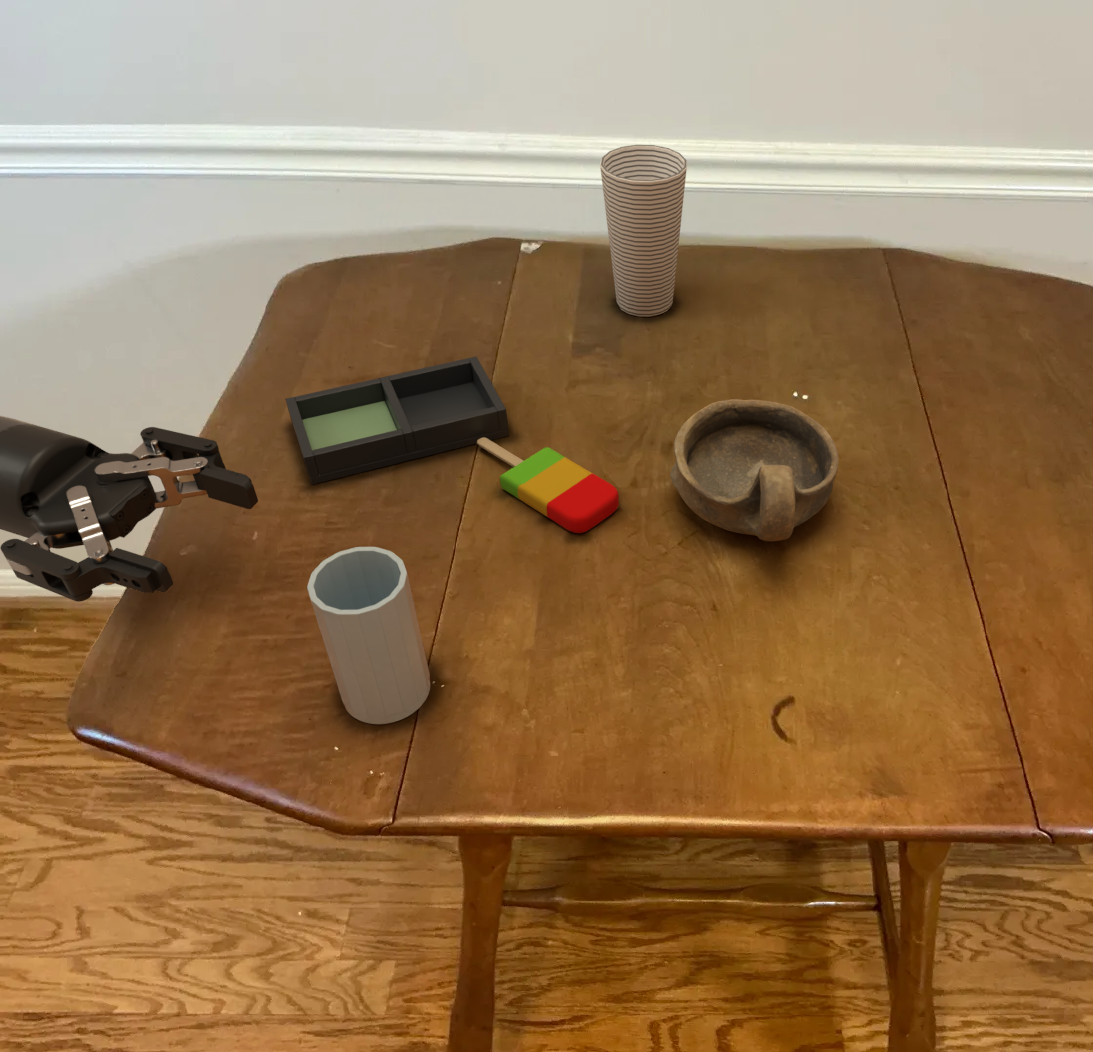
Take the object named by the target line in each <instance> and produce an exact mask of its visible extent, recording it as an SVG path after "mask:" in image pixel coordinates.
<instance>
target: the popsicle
mask: <svg viewBox="0 0 1093 1052" xmlns="http://www.w3.org/2000/svg"><path fill="white" fill-rule="evenodd" d="M476 445H477V446H478V447H480V448H482V449H484V450H485V451H487V452H488V453H490V454H492V455H493V456H495V457H496V458H498V459H500V461H503V462H504V463H506V464H508V465H509V466H511V468H510V469H509V470H507V471H506V472H504V473H502V474H500V476H499V484H500V487H501V489H502V490H504V491H505V492H507V493H508V494H510V495H512V496H513V497H515V498H516V499H518V500H519V501H521V502H523V503H525V504H526V505H527V506H529V507H530V508H532V509H534V510H536V511H537V512H539V513H540V514H542V515H543V516H544V517H546V518H548V519H550V521H553V522H554V523H555V524H557V525H559V526H560V527H562V528H564V529H565V530H567V531H569V532H571V533H574V534H582V533H585V532H588V531H589V530H591V529H593V528H594V527H595V526H597V525H598V524H600V523H601V522H603V521H604V520H605V519H607V518H608V517H610V516H611V515H612V514H614V513H615V512H616V511H617V509H618V507H619V506H620V496H619V495H620V494H619V491H618V489H617V488H616V487H615V486H614V485H613V484H611V483H610V482H608V481H607V480H605V479H603V478H601V477H599V476H598V475H597V474H595V473H593V472H591V471H590V470H587V469H586V468H584V467H583V466H581V465H580V464H579V463H577V462H575V461H573V460H571V459H569V458H568V457H566V456H564V455H562V454H561V453H559V452H557V451H556V450H554V449H553V448H550V447H548V446H546V447H543V448H541V449H540V450H539V451H537V452H535V453H533V454H532V455H530V456H529V457H527V458H526V459H524V460H523V459H522V458H520V457H518V456H517V455H515V454H513V453H511V451H509V450H507V449H505V448H503V447H502V446H500V445H499V444H497V443H495V442H494V441H492V440H489V439H487V438H480V439H479V440H477V444H476Z"/></svg>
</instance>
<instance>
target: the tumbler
mask: <svg viewBox="0 0 1093 1052" xmlns="http://www.w3.org/2000/svg"><path fill="white" fill-rule="evenodd" d="M306 589H307V593H308V595H309V599H310V603H311V606H312V609H313V612H314V615H315V618H316V621H317V624H318V625H317V626H318V627H319V631H320V635H321V637H322V641H323V644H324V647H325V650H326V654H327V657H328V661H329V663H330V666H331V670H332V673H333V675H334V680H335V682H336V685H337V689H338V692H339V696H340V698H341V701H342V704H343V707H344V709H345V710H346V712H347V713H348V714H349V715H350V716H351V717H353V718H354V719H355V720H358V721H360V722H362V723H366V724H371V725H387V724H392V723H396V722H398V721H401V720H404V719H406V718H408V717H409V716H411V715H413V714H414V713H416V712H417V710H419V709H420V708H421V707H422V706H423V704H424V703H425V702H426V700H427V699H428V696H429V694H430V691H431V677H430V676H431V674H430V669H429V665H428V660H427V657H426V652H425V647H424V642H423V638H422V634H421V633H422V632H421V629H420V624H419V620H418V616H417V615H418V614H417V611H416V607H415V606H416V605H415V601H414V596H413V593H412V588H411V583H410V579H409V574H408V571H407V567H406V565H405V563H404V561H403V559H402V558H400V557H399V556H398V555H397V554H395V553H394V552H393V551H392V550H388V549H385V548H382V547H378V546H355V547H351V548H348V549H344V550H340V551H338V552H337V551H336V553H334V554H332V555H331V556H328V558H325V559H323V560H322V561H321V562H320V563H319V564H318V565H317V566H316V568H314V570H313V571H311V573H310V577H309V580H308V583H307V586H306Z"/></svg>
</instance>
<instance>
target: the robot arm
mask: <svg viewBox="0 0 1093 1052" xmlns="http://www.w3.org/2000/svg"><path fill="white" fill-rule="evenodd" d="M139 435H140V437H141V440H142V443H141V444H140V445H139V446H137V447H136V449H134V450H133V451H132V452H131V453H129V452H122V453H121V452H120V453H112V452H111V453H110V452H108V451H106V450H104V449H102V448H101V447H99V446H98V445H96V444H94V443H93V442H91V441H89V440H88V439H85V438H83V437H78V436H75V435H71V434H68V433H65V432H60V431H57V430H53V429H50V428H48V427H44V426H40V425H37V424H34V423H30V422H26V421H23V420H19V419H16V418H13V417H9V416H4V415H0V530H2V531H3V532H8V533H11V534H14V535H17V536H21V537H23V538H26V539H25V540H22V539H19V538H11V539H7V540H5V541H4V542H3V543H1V545H0V551H1V553H2V554H3V556H4V558H5V559H6V561H7V563H8V564H9V566H10V568H11V570H12V571H13V573H14V575H15V577H16V578H18V579H20V580H22V581H25V582H27V583H30V584H32V585H35V586H37V587H40V588H42V589H45V590H47V591H49V592H51V593H52V592H53V593H54V594H57V595H59V596H61V597H64V598H67V599H69V600H71V601H74V602H78V603H79V602H84V601H87V600H89V599H90V598H91V597H92V595H93V594H94V591H93V590H94V589H96V588H98V587H99V586H101V585H104V586H112V585H118V586H121V587H124V588H127V589H131V590H134V591H137V592H140V593H142V594H154V593H155V592H156V591H157V592H159V593H162V594H163V593H164V594H165V593H167V592H168V591H169V590H170V589H171V588H172V587H173V586H174V580H173V578H172V575H171V573H170V571H169V568H168V567H167V565H165V564H164V563H163V562H162V561H160V560H157V559H154V558H151V557H148V556H144V555H141V554H139V553H135V552H131V551H128V550H126V549H122V548H119V547H116V548H115V549H114V548H113V546H112V543H111V541H113V540H117V539H119V538H126V537H127V536H128V535H129V534H130V533H132V532H133V530H134V529H135V527H136V526H137V524H138V523H139V522H141V521H143V520H144V519H146V518H147V517H149V516H150V515H152V513H154V512H155V511H156V510H157V509H163V508H168V507H174V506H178V505H180V504H181V503H182V501H183V500H184V499H189V498H194V497H200V496H206V495H207V497H208V498H209V499H212V500H215V501H219V502H223V503H226V504H229V505H233V506H236V507H240V508H243V509H247V510H252V509H253V508H254V507H255V506H256V505H257V504H258V503H259V498H258V495H257V492H256V490H255V487H254V484H253V482H252V479H251V477H249V475H247V474H245V473H241V472H237V471H234V470H230V469H228V468H227V467H226V464H225V463H224V461H223V458H222V455H221V453H220V447H219V445H218V442H217V441H216V440H212V439H209V438H205V437H200V436H197V435H190V434H186V433H183V432H178V431H175V430H174V431H173V430H169V429H165V428H161V427H155V426H148V427H146V428H143V429H142V430H141V431H140V434H139ZM189 475H192V477H193V480H190V481H183V482H182V481H180V480H179V479H178V477H182V476H183V477H185V476H189ZM151 476H155V477H158V478H159V479H160V482H161V484H162V486H163V489H164V490H161V491H160V490H159V491H156V490H155V489H154V486H153V484H152V481H151V480H150V477H151ZM81 546H84V549H85V551H86V554H87V557H86V558H84V559H82V560H80V561H79V562H78V561H76V560H73V559H70V558H68V557H65V556H63V555H60V554H58V553H55V552H52V551H51V549H56V550H58V549H59V550H61V549H68V548H72V547H81Z"/></svg>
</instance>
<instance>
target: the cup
mask: <svg viewBox="0 0 1093 1052" xmlns="http://www.w3.org/2000/svg"><path fill="white" fill-rule="evenodd" d="M599 168H600V176H601V184H602V185H601V186H602V192H603V201H604V209H605V217H606V218H605V219H606V225H607V234H608V242H609V250H610V259H611V266H612V273H613V275H612V276H613V283H614V291H615V300H616V301H615V302H616V304H617V306H618V307H619V309H620V310H621V311H623V312H625V314H628V315H632V316H636V317H655V316H659V315H661V314H664V313H666V312H668V310H669V309H670V308H671V307H672V306H673V302H674V292H675V283H676V275H677V264H678V255H679V254H678V253H679V246H680V234H681V226H682V225H681V224H682V217H683V208H684V199H685V198H684V197H685V187H686V178H687V169H688V160H687V159H686V158H685V156H683V154H682V153H680V152H678V151H677V150H674V149H671V148H669V147H665V146H660V145H656V144H632V145H626V146H625V145H624V146H620V147H618V148H614V149H611V150H609V151H608V152H607V153H605V154H604V155H603V156H602V157H601V158H600V163H599Z"/></svg>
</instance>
